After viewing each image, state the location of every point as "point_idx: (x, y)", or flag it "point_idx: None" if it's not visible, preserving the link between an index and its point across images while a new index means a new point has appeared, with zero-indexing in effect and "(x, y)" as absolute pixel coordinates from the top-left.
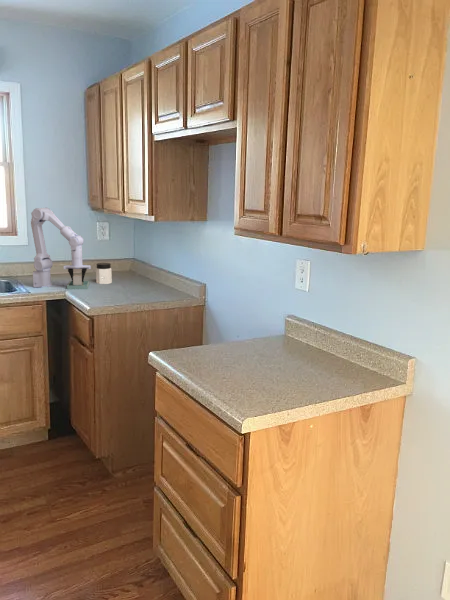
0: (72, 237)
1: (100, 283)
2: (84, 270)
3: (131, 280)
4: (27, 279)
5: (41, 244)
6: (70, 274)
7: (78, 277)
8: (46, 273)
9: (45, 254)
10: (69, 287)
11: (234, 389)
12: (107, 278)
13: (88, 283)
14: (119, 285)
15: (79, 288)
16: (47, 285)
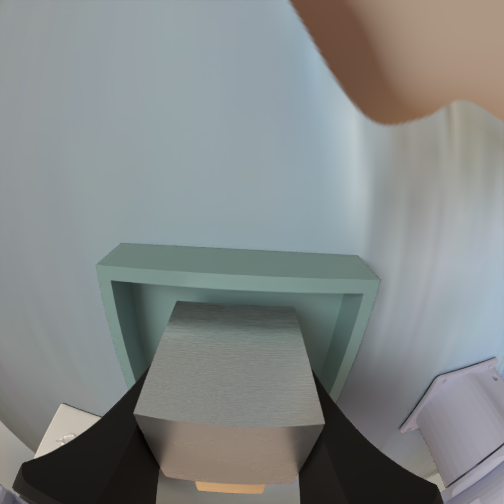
0: None
1: (94, 421)
2: (26, 490)
3: (30, 431)
4: (430, 462)
5: None
6: (374, 456)
7: (202, 404)
8: (486, 443)
9: None
10: (343, 269)
11: None
12: (46, 431)
13: (127, 385)
14: (6, 365)
15: (209, 257)
16: (449, 386)
